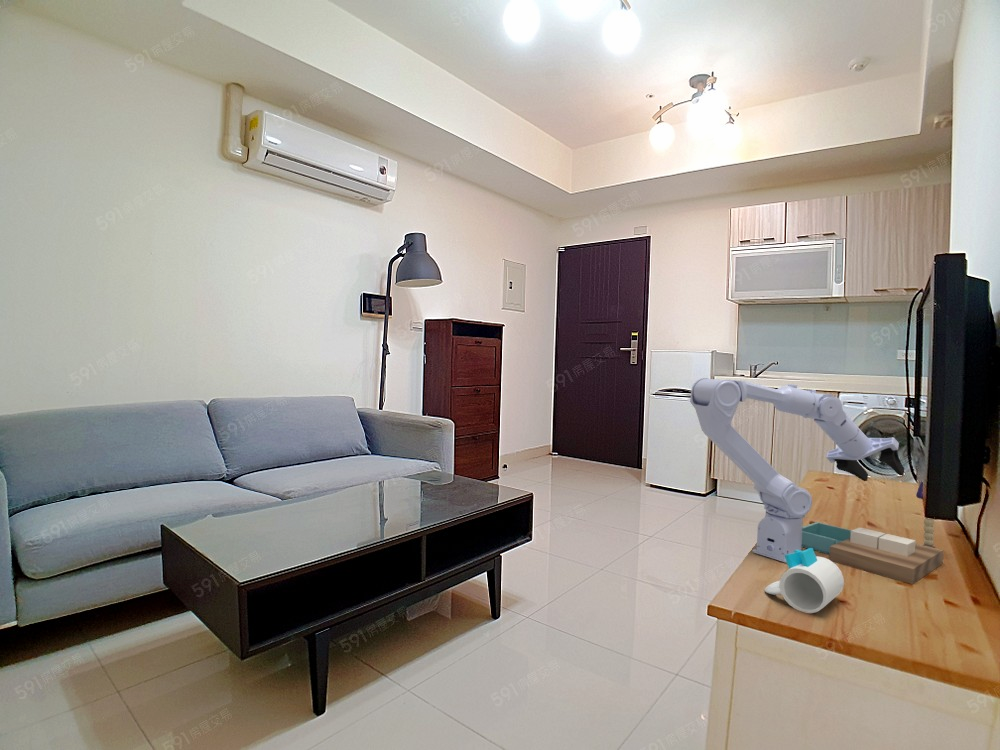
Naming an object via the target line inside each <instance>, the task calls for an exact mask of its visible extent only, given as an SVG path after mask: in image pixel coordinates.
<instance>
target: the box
mask: <svg viewBox="0 0 1000 750" xmlns="http://www.w3.org/2000/svg"><path fill="white" fill-rule="evenodd" d="M852 530H853V529H848V528H844V527H839V526H836V525H831V524H826V523H823V522H818V521H815V522H813V523H810V524H807V525H804V526H802V546H801V548H804V549H809V548H813V550H814V552H819V553H822V554H825V555H830V546H832V545H835V544H837V543H839V542H842V541H844V540H846V539H849V538H850V536H851V531H852Z"/></svg>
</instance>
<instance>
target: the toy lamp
mask: <svg viewBox="0 0 1000 750" xmlns="http://www.w3.org/2000/svg"><path fill="white" fill-rule="evenodd" d="M922 492H923V482H922V480H921V481H920V483H919V486H918V489H917V491H916V494H915V495H916V496H915V497H916V498H918V499H920V500H924V499H923V493H922ZM923 517H924V519H923V524H924V527H923V531H924V533H923V537H924V540H923V545H924V546H929V547H933V548H936V547H935V546H934V545H935V543H934V537H935V536H934V535H935V534H934V532H935V527H934V526H935V520H934V519H928V518H926V517H925V515H924V514H923Z"/></svg>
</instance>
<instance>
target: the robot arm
mask: <svg viewBox="0 0 1000 750" xmlns="http://www.w3.org/2000/svg"><path fill="white" fill-rule="evenodd" d="M747 399H749V400H753V401H760V402H765V403H771V404H773V407H774V408H775V410H777V411H779V412H783V413H787V414H792V415H796V416H801V417H803V418H804V419H807V418H808V419H813V421H814V422H815V423H816V425H818V426H819V427H820V429H821V430H822V431H824V433H825V434H826V435H827V436H828V437H829V438H830V439H831V440H832V442H834V443H835V445H837V448H834V449H832V450H831V449H830V450H828V451H827V453H826V457H825V458H826V459H827V461H829V462H830V463H833V464H834V463H836V466H835V467H836V468H837V470H839V471H843V472H846V473H848V474H851V475H853V476H855V477H856V478H858V479H860V480H862V481H863V482H868V479H869V473H868V472H867V470H866V469H865V468H864V467H863V466H862V464H860V463H859V461H858V460H862V459H865V458H868V457H870V456H872V455H874V454H876V453H879V452H880V453H881V454H880V457H879V460H880V462H883V464H886V465H888V467H890V468H891V469H892V470H893V471H894V472H895V473H896V474H897V475H899V476H904V474H905V467H904V466H903V464H902V462H901V458H900V457H899V453H898V450H899V447H900V446H899V445H900V443H899V441H898V440H897V439H896V438H895V437H892V436H891V437H887V438H886V437H868V436H866V434H865V433H864V432H863V431H862V430H861V429H860V428H859V426H858V425H857V424H856V423H855V422H854V421H853V420H852V419H851V418H850V417H849V416H848V415H847V413H846V412H845V411H844V409H843V404H842V400H841V399H840V398H839V397H836V396H834V395H833V394H827V393H817V390H816V389H808V390H806V389H802V388H799V387H798V384H794V383H793V384H792V383H788V384H787V385H782V386H780V387H778V388H777V389H776V388H773V387H770V386H766V385H762V384H758V383H754V382H750V381H747V380H742V379H741V380H738V379H728V378H726V379H720V378H715V379H714V378H713V379H712V378H707V377H703V378H699V379H697V380H696V381H694V383H693V384H692V387H691V391H690V399H689V402H690V404H691V405H692V407H693V408H694V410H695V413H696V416H697V419H698V422H699V425H700V428H701V431H702V432H703V434H704V435H705V436H706V437H707V438H708V439H709V440H710V441H711V442H712V443H713V444H714V445H715V446H716V447H717V448H718V449H719V450H720V451H721V452H723V454H724V455H725V456H726V457H727V458H728V459H729V460H730V461H731V462H732V463H733V464H734V465H735V466H736V467H737V468H738V469H739V470H741V472H742V473H743V474H744V475H745V476H746V477H747V478H748V479H749V480H751V482H753V484H754V485H753V489H755V490H756V492H757V493H758V496H759V498H760V501H761V502H762V503H763V504H764V506H763V508H764V510H765V515H764V518H762V519H761V520H760V521H759V522H758V525H757V532H756V533H757V537H756V538H757V539H756V548H754V549H752V553H754V554H757V555H760V556H764V557H767V558H768V559H769V558H770V559H773V560H777V561H780V562H783V563H786V564H787V561H786V559H785V556H784V555H788V554H792V553H795V551H794V550H800V551H802V547H801V546H802V527H803V523H804V521H803V519H805V518H806V515H808V514H809V512H810V511H811V509H812V505H813V498H812V495H811V493H810V492H809V491H808V490H807V489H806V488H803V487H800V486H797V485H796V484H795V483H794V481H792V480H790V479H788V478H787V477H785V476H783V475H782V474H780V473H779V472H778V471H777V470H776V469H775V468H774V467H773V466H772V465H771V464H770V463H769V462H768V461H767V460H766V459H765V458H764V457H763V456H762V455H761V454H760V453H759V452H758V450H756V449H755V448H754V447H753V446H752V445H751V444H750V443H749V442H748V441H747V440H746V439H745V438H744V437H743V436H742V435H741V434H740V433H739V432H738V431H737V430H736V429H735V428H734V427H733V426H732V425H731V424H732V422H733V421H732V420H733V418H734V416H735V414H736V410H737V408H738V406H739V403H741V402H745V401H746V400H747Z"/></svg>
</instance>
